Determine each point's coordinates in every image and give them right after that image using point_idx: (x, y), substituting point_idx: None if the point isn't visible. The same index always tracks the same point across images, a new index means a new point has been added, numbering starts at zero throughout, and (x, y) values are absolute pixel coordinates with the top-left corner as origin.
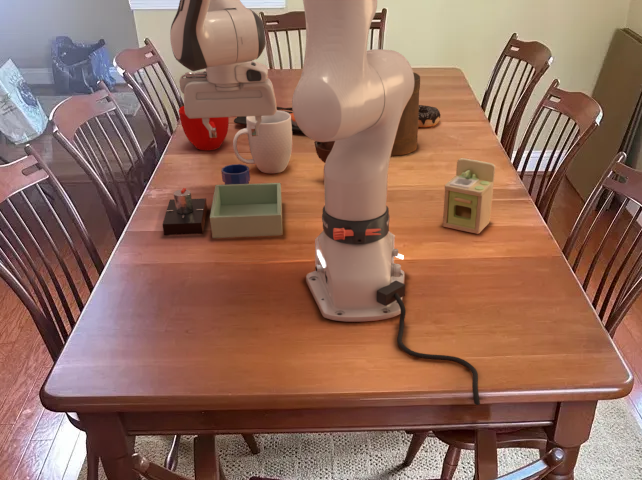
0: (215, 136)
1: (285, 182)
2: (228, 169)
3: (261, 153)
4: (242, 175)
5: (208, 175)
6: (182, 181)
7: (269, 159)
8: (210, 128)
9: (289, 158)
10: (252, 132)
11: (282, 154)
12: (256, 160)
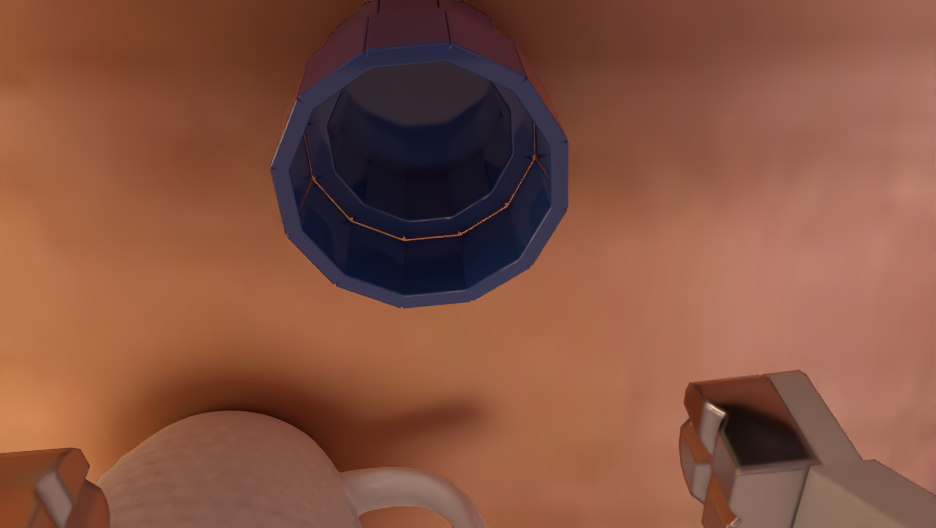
0: (709, 385)
1: (68, 280)
2: (504, 246)
3: (245, 505)
4: (327, 69)
5: (664, 373)
6: (850, 279)
7: (190, 467)
8: (843, 493)
9: None
10: (24, 490)
11: None
12: (315, 477)
